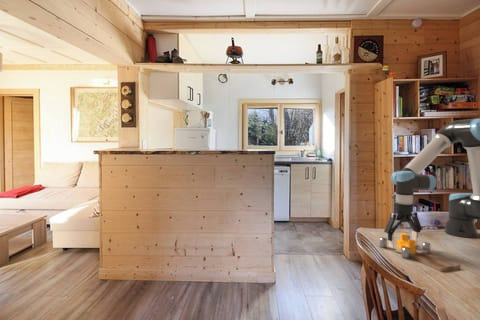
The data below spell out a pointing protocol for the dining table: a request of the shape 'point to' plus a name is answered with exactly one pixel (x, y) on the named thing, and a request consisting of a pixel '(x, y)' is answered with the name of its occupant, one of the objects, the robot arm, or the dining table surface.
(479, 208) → the robot arm
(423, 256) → the board
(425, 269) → the dining table surface
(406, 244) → the pipe clamp
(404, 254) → the spacers
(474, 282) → the dining table surface
